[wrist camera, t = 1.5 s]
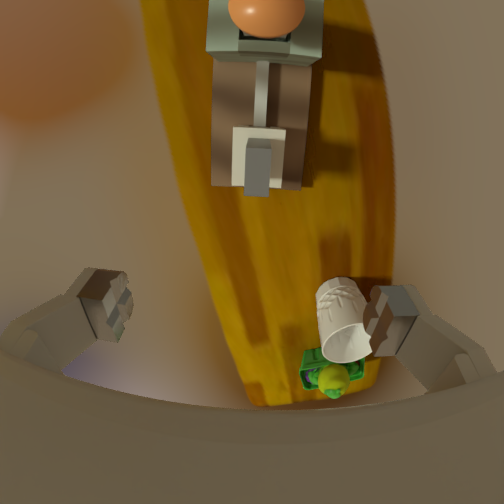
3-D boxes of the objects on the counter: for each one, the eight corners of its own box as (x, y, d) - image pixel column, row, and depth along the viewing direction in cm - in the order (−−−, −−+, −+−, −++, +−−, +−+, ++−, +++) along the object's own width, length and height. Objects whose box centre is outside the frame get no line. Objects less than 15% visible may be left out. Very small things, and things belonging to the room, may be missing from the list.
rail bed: (218, 16, 21) (204, -10, 14) (311, 21, 21) (329, -2, 14) (213, 181, 32) (199, 210, 24) (299, 186, 32) (310, 216, 24)
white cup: (368, 297, 40) (388, 345, 32) (325, 320, 43) (336, 370, 35) (349, 263, 37) (370, 313, 29) (301, 290, 40) (310, 343, 31)
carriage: (235, 124, 26) (226, 134, 20) (283, 127, 26) (292, 138, 20) (233, 178, 30) (225, 206, 23) (279, 181, 30) (285, 209, 23)
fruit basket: (302, 370, 51) (307, 419, 41) (294, 343, 46) (299, 399, 37) (358, 357, 49) (370, 405, 39) (357, 329, 44) (374, 382, 35)
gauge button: (235, -6, 14) (230, -23, 11) (298, -2, 14) (305, -19, 11) (232, 45, 17) (226, 35, 14) (296, 49, 17) (303, 39, 14)
